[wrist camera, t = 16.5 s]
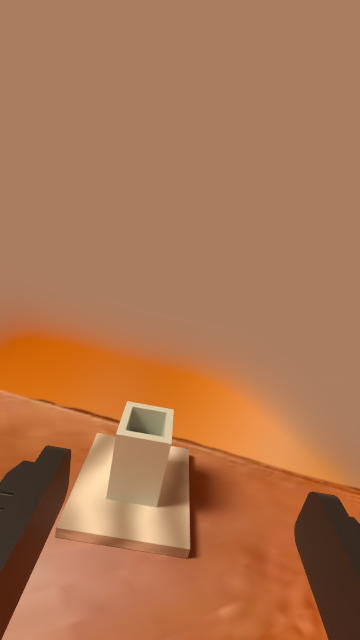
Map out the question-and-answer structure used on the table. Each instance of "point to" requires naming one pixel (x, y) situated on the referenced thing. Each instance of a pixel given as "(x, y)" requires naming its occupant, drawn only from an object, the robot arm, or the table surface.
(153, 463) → the cream square bin
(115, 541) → the post base
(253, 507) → the table surface
